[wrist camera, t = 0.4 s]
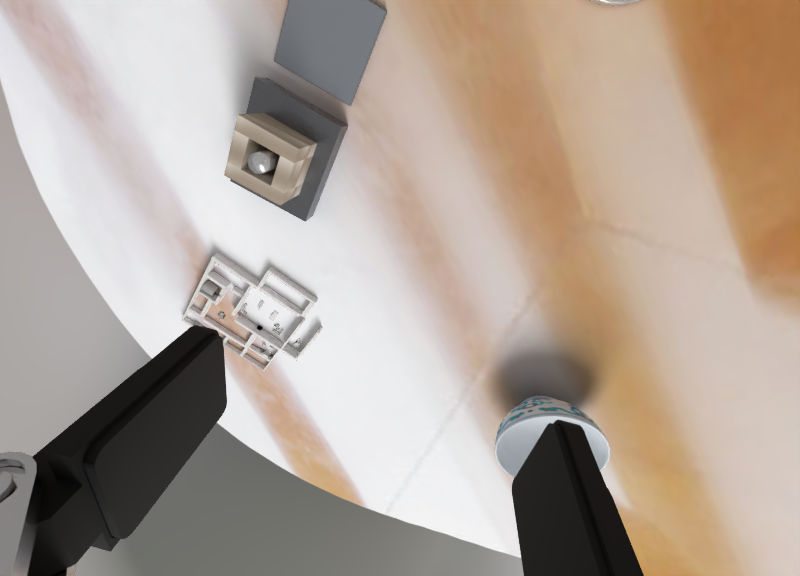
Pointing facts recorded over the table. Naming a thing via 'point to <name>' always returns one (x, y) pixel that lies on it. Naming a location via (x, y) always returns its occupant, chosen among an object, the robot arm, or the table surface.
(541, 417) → the chinaware
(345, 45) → the mat
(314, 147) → the collar
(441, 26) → the table surface
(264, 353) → the floor plan model
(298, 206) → the post stand
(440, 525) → the table surface
